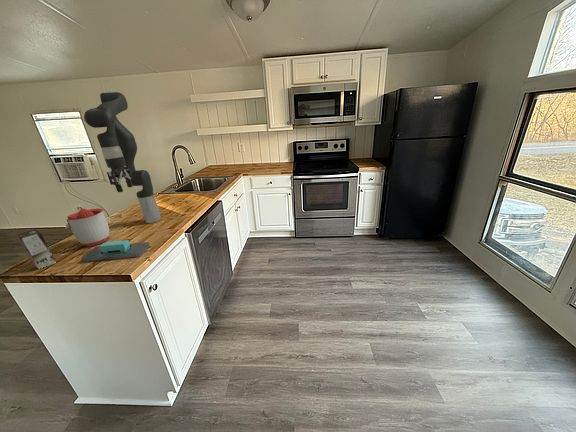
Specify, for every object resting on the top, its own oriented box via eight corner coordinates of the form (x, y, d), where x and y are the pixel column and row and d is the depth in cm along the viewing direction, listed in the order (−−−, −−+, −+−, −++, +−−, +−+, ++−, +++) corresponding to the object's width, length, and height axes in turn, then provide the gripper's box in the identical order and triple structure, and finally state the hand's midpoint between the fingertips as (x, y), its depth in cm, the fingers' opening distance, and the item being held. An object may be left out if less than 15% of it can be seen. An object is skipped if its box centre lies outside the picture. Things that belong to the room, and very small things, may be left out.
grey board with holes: (98, 251, 118) (96, 246, 117) (149, 246, 119) (148, 242, 118) (83, 262, 108) (81, 257, 108) (139, 256, 110) (138, 252, 109)
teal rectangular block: (109, 252, 116) (105, 242, 113) (132, 250, 116) (128, 239, 114) (103, 257, 111) (99, 246, 109) (127, 255, 112) (123, 244, 110)
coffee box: (57, 262, 110) (41, 232, 104) (38, 269, 105) (20, 238, 99) (51, 258, 114) (35, 228, 108) (33, 264, 109) (15, 234, 103)
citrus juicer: (74, 243, 128) (59, 209, 121) (112, 232, 138) (99, 201, 131) (74, 253, 117) (56, 217, 109) (115, 241, 127) (101, 207, 119)
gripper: (114, 154, 115) (126, 186, 122) (95, 159, 102) (108, 194, 109) (130, 153, 115) (140, 185, 122) (112, 158, 102) (125, 193, 109)
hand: (125, 189), depth 115 cm, fingers open, 8 cm apart
